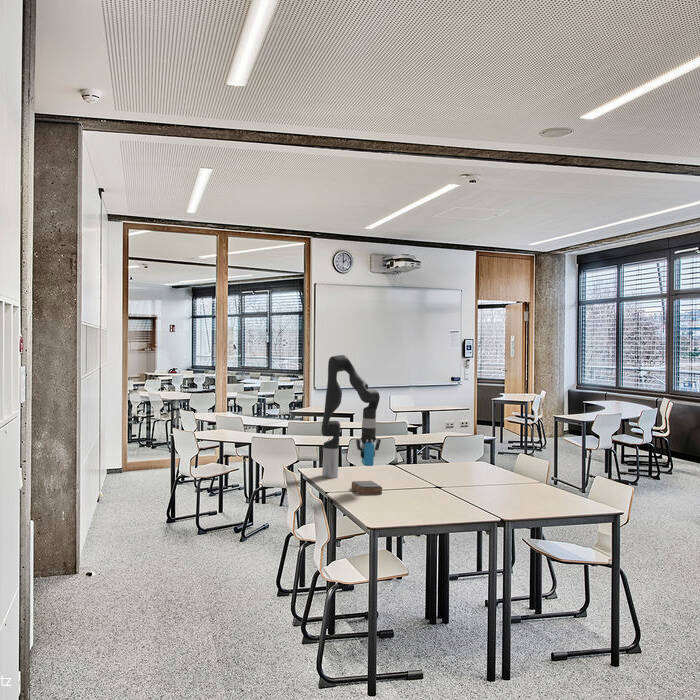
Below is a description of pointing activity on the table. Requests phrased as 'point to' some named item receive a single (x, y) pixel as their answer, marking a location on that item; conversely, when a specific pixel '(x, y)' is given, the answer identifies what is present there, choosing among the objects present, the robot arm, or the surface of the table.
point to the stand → (366, 487)
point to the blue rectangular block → (368, 454)
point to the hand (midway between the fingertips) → (367, 457)
